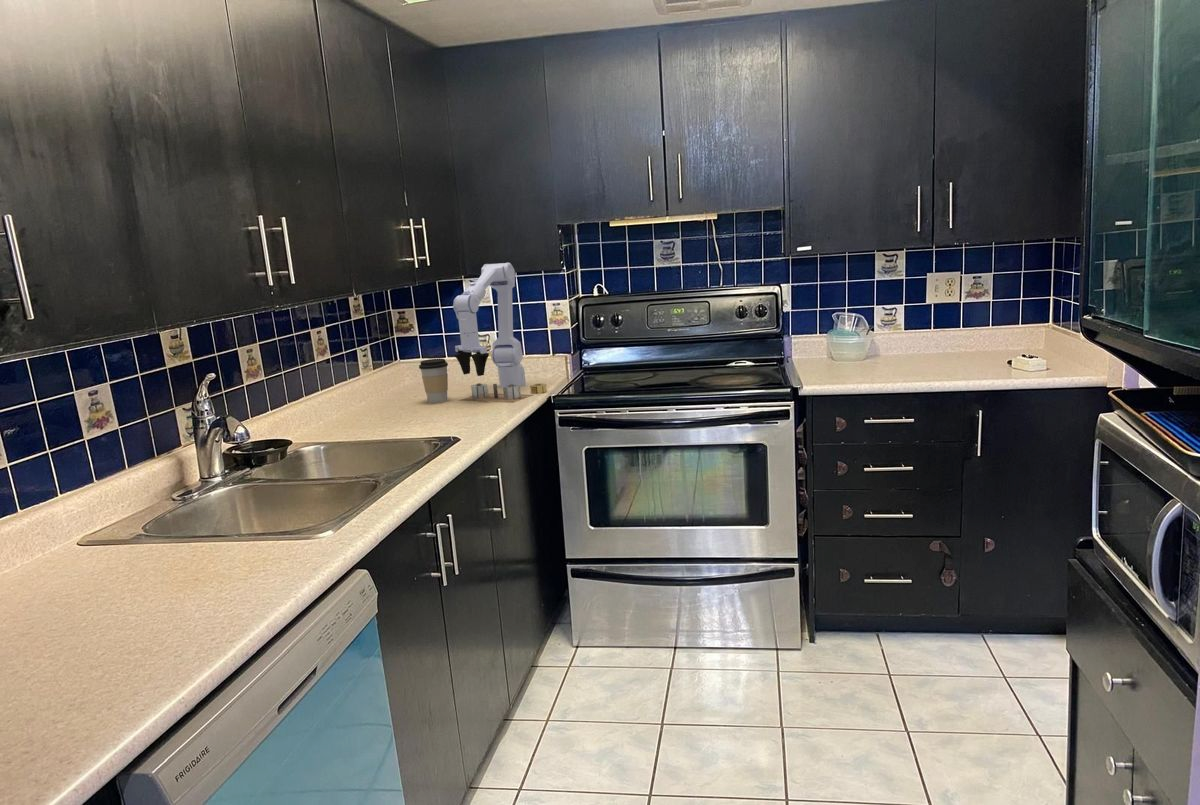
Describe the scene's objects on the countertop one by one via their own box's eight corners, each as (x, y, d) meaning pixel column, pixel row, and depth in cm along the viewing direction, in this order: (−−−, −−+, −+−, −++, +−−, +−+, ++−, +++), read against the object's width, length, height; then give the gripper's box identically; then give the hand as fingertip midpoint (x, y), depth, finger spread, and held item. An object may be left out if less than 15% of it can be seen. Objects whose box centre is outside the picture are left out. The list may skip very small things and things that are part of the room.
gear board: (481, 397, 277) (479, 380, 276) (534, 399, 266) (533, 381, 265) (458, 404, 267) (456, 386, 265) (513, 407, 256) (511, 388, 255)
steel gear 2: (506, 397, 266) (505, 384, 265) (522, 396, 265) (520, 384, 264) (502, 400, 261) (501, 387, 260) (518, 399, 260) (517, 387, 259)
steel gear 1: (478, 395, 273) (477, 383, 272) (491, 395, 270) (490, 383, 269) (469, 398, 268) (467, 386, 267) (481, 398, 266) (480, 386, 265)
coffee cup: (455, 401, 272) (450, 357, 269) (448, 407, 263) (442, 361, 260) (428, 403, 273) (423, 359, 270) (419, 409, 264) (414, 363, 261)
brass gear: (536, 394, 273) (535, 383, 273) (549, 395, 271) (548, 383, 270) (528, 398, 269) (527, 386, 268) (541, 398, 266) (540, 386, 266)
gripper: (445, 333, 262) (450, 375, 265) (472, 335, 252) (476, 378, 254) (463, 330, 267) (468, 371, 269) (490, 332, 256) (494, 374, 259)
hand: (473, 374), depth 262 cm, fingers open, 7 cm apart
